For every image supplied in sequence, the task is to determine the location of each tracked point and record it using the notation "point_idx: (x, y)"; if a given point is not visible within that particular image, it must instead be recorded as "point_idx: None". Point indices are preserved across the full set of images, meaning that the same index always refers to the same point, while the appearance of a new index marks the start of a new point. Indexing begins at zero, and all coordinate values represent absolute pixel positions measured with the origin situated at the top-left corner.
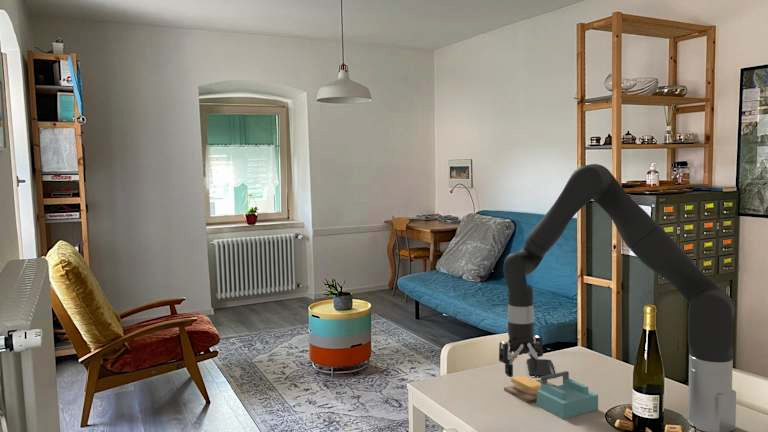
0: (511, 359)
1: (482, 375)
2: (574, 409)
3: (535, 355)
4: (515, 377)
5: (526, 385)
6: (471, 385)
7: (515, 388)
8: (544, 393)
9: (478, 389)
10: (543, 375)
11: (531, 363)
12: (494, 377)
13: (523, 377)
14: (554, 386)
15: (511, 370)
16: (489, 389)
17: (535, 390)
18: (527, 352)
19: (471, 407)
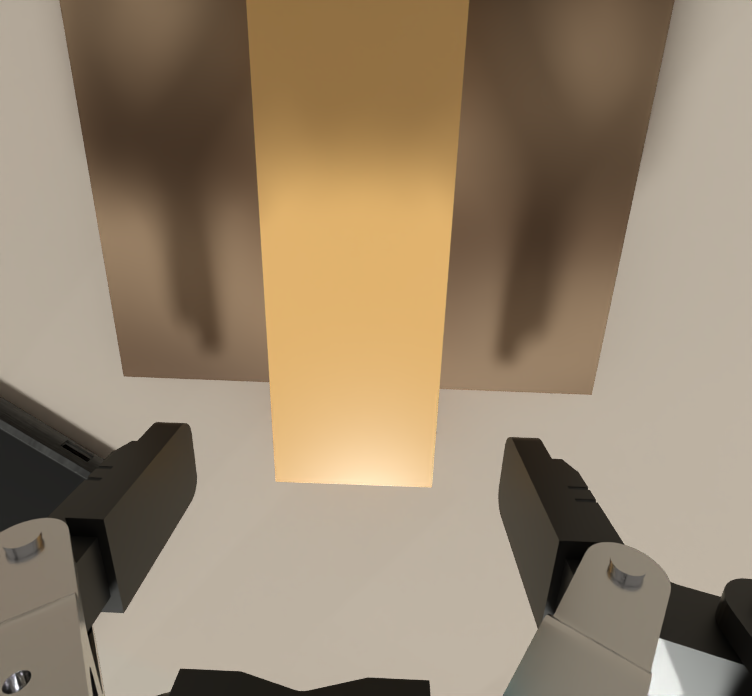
0: (636, 625)
1: (477, 673)
2: None
3: (18, 580)
4: (387, 475)
5: (449, 250)
6: (702, 581)
7: (521, 319)
8: None
9: (733, 500)
10: (54, 445)
11: (149, 524)
12: (431, 612)
13: (318, 437)
14: (122, 145)
15: (555, 482)
16: (662, 458)
17: (461, 73)
18: (173, 693)
19: None
